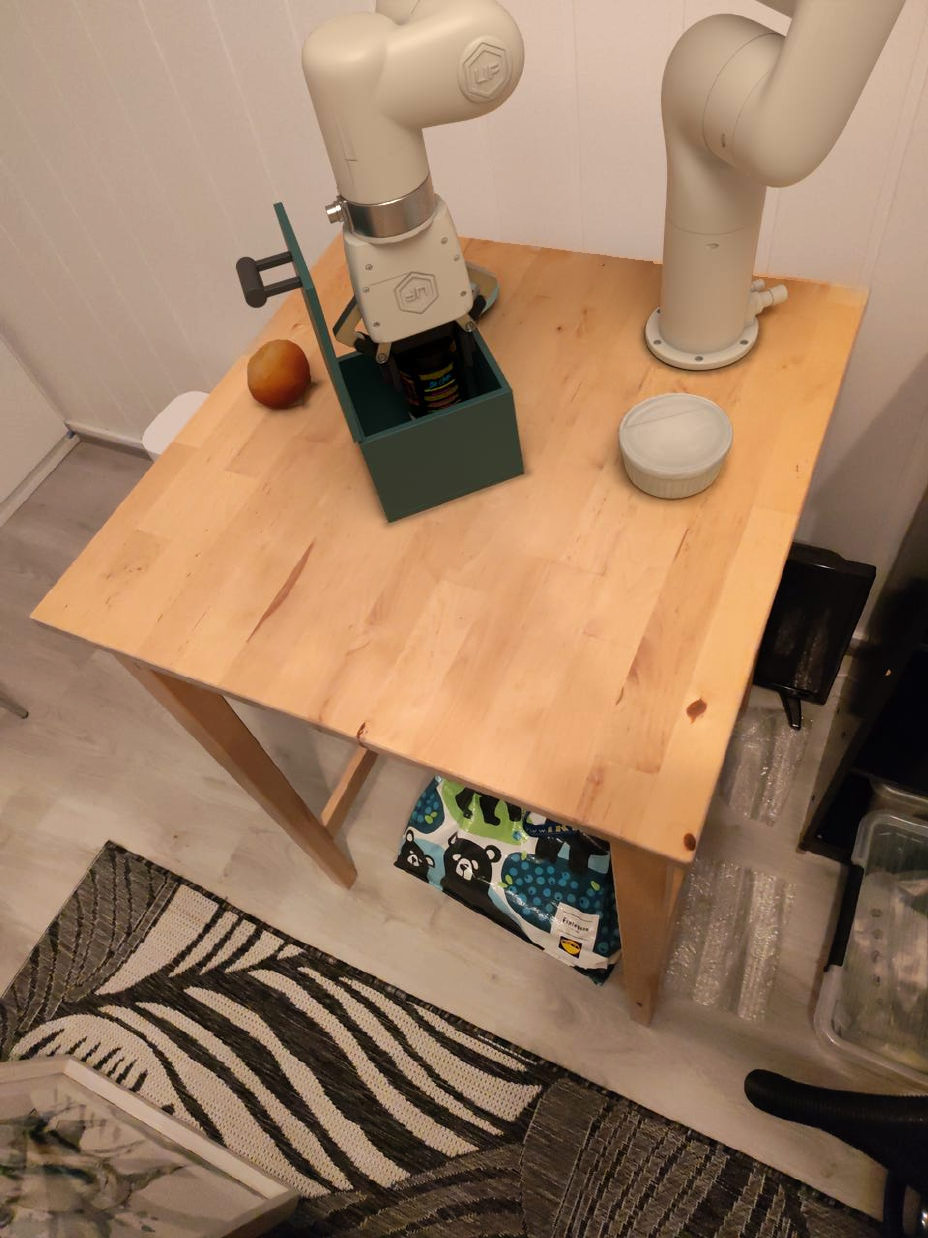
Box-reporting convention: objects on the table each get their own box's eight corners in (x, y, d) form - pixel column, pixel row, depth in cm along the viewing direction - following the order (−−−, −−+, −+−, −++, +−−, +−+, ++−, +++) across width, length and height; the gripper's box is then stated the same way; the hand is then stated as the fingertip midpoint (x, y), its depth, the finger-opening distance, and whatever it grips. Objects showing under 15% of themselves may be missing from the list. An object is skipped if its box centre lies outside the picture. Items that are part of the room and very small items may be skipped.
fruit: (318, 409, 95) (265, 363, 90) (278, 432, 100) (226, 390, 95) (337, 362, 99) (287, 316, 94) (297, 387, 104) (249, 344, 99)
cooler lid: (281, 201, 69) (219, 219, 69) (314, 286, 62) (245, 307, 61) (330, 355, 83) (278, 371, 83) (362, 440, 76) (305, 459, 75)
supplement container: (486, 412, 84) (471, 330, 76) (438, 448, 83) (417, 369, 74) (445, 384, 88) (426, 303, 79) (398, 419, 86) (374, 339, 77)
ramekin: (665, 413, 88) (667, 375, 83) (750, 460, 82) (758, 423, 78) (595, 473, 85) (594, 437, 80) (679, 526, 79) (683, 491, 75)
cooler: (483, 395, 94) (467, 310, 84) (524, 473, 86) (512, 389, 77) (358, 440, 93) (327, 360, 83) (388, 523, 86) (359, 445, 76)
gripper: (298, 259, 63) (359, 424, 78) (503, 187, 64) (525, 364, 79) (280, 212, 67) (341, 378, 82) (473, 145, 68) (499, 321, 83)
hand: (431, 370), depth 80 cm, fingers closed on supplement container, 6 cm apart
